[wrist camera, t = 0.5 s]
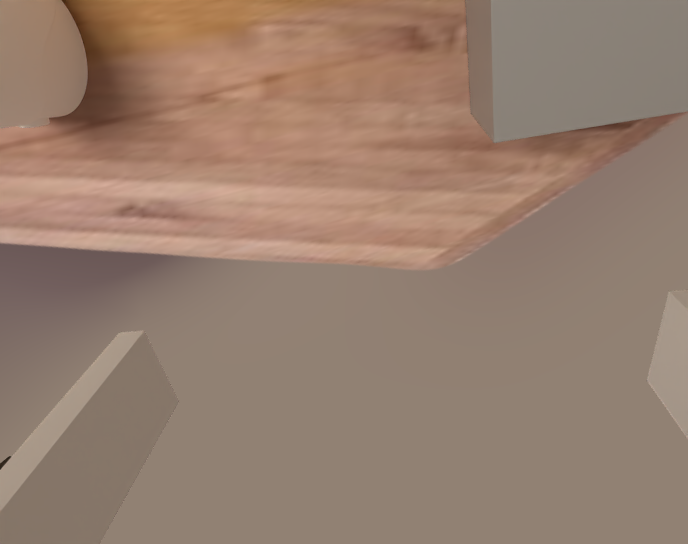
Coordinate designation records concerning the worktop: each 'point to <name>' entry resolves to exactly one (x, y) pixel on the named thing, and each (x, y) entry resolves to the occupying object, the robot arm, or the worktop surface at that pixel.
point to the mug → (39, 62)
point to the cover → (574, 63)
